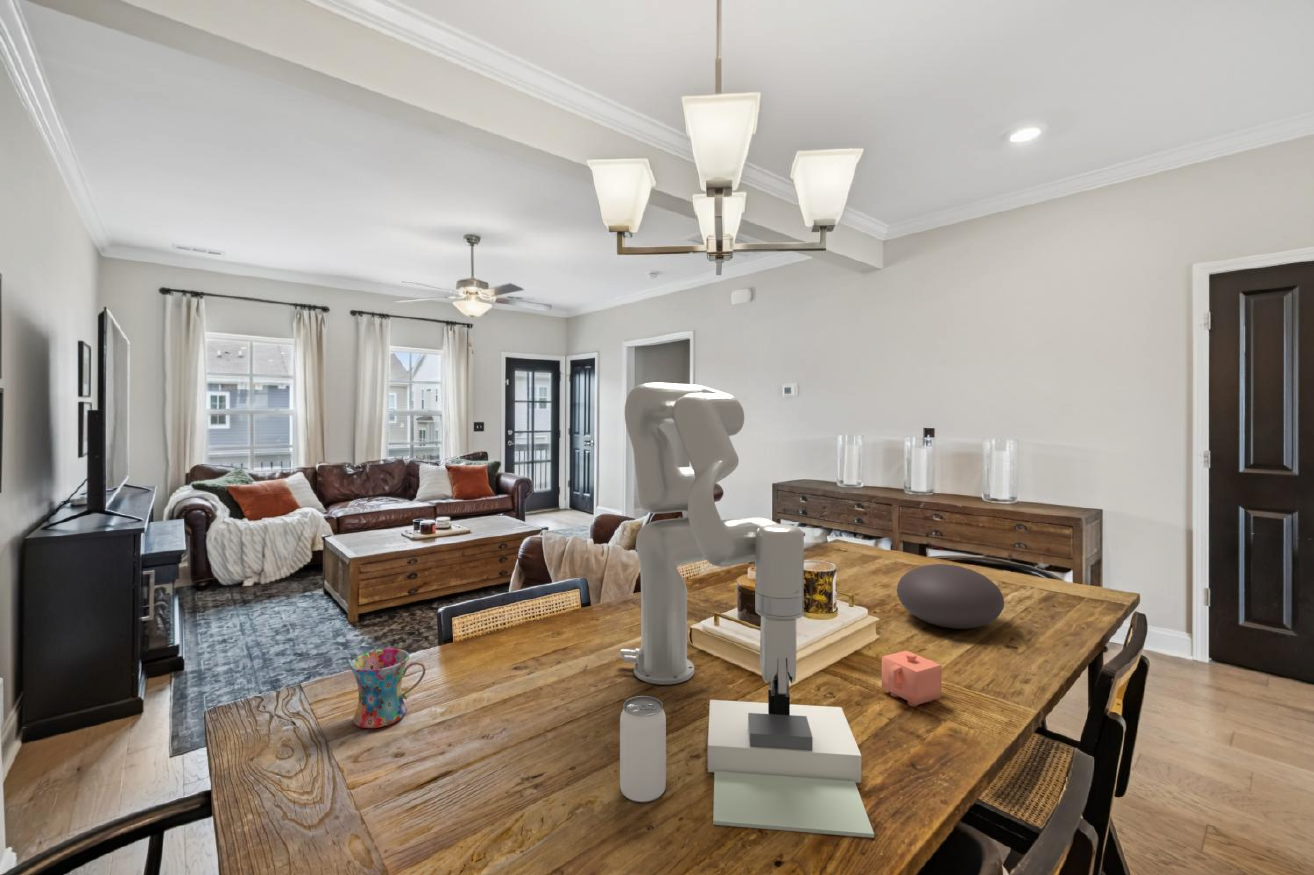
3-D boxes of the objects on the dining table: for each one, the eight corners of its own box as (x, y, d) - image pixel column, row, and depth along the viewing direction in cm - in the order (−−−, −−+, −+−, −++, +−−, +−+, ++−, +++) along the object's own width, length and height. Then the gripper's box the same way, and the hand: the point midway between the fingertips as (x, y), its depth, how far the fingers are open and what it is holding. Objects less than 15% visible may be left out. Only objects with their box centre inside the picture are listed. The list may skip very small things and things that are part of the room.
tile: (749, 746, 84) (750, 733, 84) (748, 725, 90) (748, 712, 90) (812, 750, 83) (812, 737, 83) (806, 728, 89) (806, 716, 89)
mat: (713, 824, 73) (713, 820, 73) (714, 774, 84) (714, 771, 84) (874, 837, 71) (874, 833, 71) (854, 784, 81) (854, 781, 81)
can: (619, 776, 83) (619, 695, 83) (663, 773, 84) (663, 693, 84) (620, 805, 77) (620, 718, 77) (668, 802, 77) (668, 716, 77)
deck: (707, 771, 84) (707, 745, 84) (710, 722, 98) (710, 699, 98) (861, 783, 82) (861, 755, 82) (841, 730, 96) (841, 707, 95)
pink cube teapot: (952, 699, 107) (953, 655, 107) (908, 713, 101) (908, 667, 101) (917, 682, 114) (917, 641, 114) (873, 694, 108) (874, 652, 108)
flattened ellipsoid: (1004, 618, 151) (1005, 562, 150) (1002, 650, 130) (1003, 585, 129) (904, 602, 164) (905, 551, 164) (888, 629, 143) (888, 570, 142)
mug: (345, 737, 93) (344, 673, 93) (356, 710, 102) (355, 652, 102) (424, 725, 97) (423, 664, 97) (427, 700, 106) (427, 644, 106)
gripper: (752, 588, 98) (752, 693, 99) (758, 618, 83) (758, 741, 84) (796, 590, 97) (796, 696, 98) (810, 620, 82) (810, 744, 83)
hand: (778, 716), depth 91 cm, fingers closed
